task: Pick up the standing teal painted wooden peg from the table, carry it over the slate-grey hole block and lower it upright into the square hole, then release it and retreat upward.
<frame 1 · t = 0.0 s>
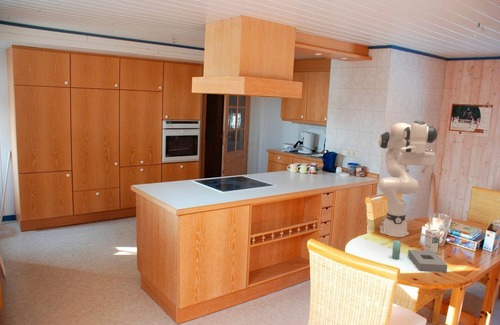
hand: (415, 172, 230), 48 cm above the table, tool pointing down, fingers open, 8 cm apart
peg: (395, 258, 225), on the table
syrup box: (430, 254, 233), on the table
hole block: (426, 263, 218), on the table
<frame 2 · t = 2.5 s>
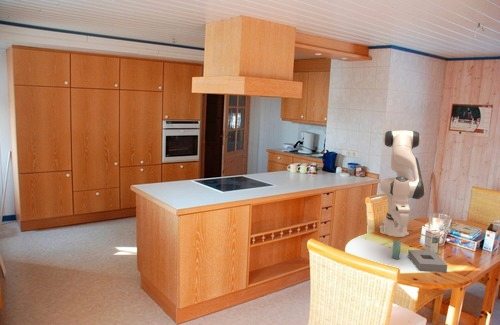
hand: (398, 229, 222), 17 cm above the table, tool pointing down, fingers open, 8 cm apart
nothing on the table moved.
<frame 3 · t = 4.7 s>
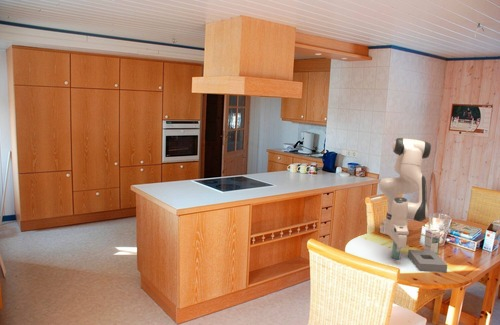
hand: (396, 249, 224), 5 cm above the table, tool pointing down, fingers closed on peg, 4 cm apart
peg: (395, 258, 225), on the table, touching gripper
everything else where it was.
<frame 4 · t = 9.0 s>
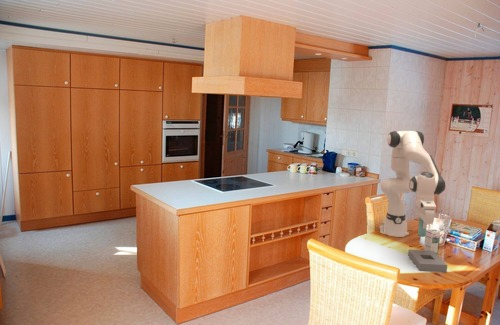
hand: (422, 226, 216), 21 cm above the table, tool pointing down, fingers closed on peg, 4 cm apart
peg: (421, 235, 217), point 16 cm above the table, touching gripper
everything else where it was.
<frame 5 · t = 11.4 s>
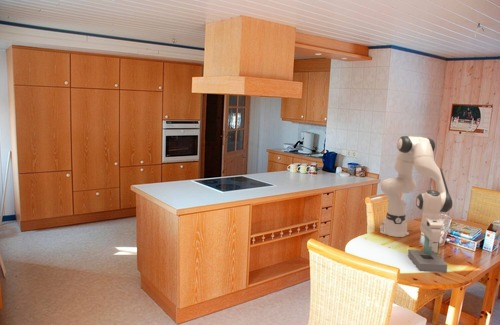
hand: (428, 244, 216), 11 cm above the table, tool pointing down, fingers closed on peg, 4 cm apart
peg: (427, 253, 217), point 6 cm above the table, touching gripper
everything else where it was.
when the fingers open (6 cm above the table, at t = 13.3 s): peg drops 1 cm, resting in hole block.
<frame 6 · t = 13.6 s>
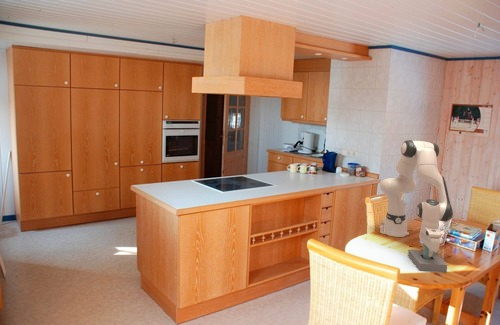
hand: (427, 253, 217), 6 cm above the table, tool pointing down, fingers open, 6 cm apart
peg: (426, 263, 218), resting in hole block
everything else where it was.
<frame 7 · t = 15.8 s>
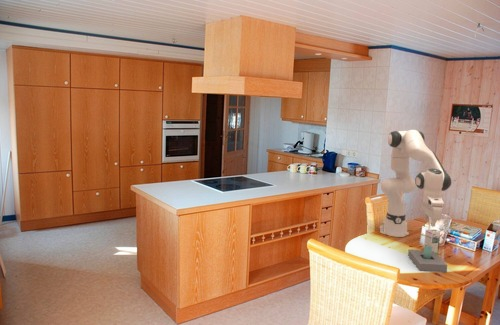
hand: (429, 223, 215), 23 cm above the table, tool pointing down, fingers open, 8 cm apart
nothing on the table moved.
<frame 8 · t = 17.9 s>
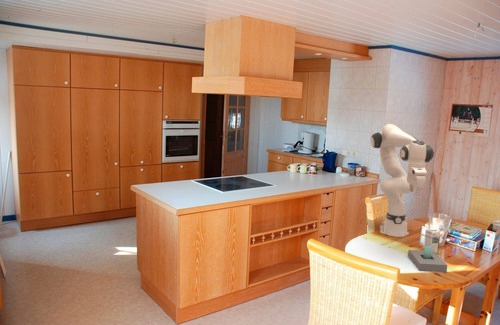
hand: (414, 193, 224), 37 cm above the table, tool pointing down, fingers open, 8 cm apart
nothing on the table moved.
at the end: peg 0.1 cm off-centre on the hole block, point 0.0 cm above the hole block's base; peg tilted 0°; the gripper is holding nothing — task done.
